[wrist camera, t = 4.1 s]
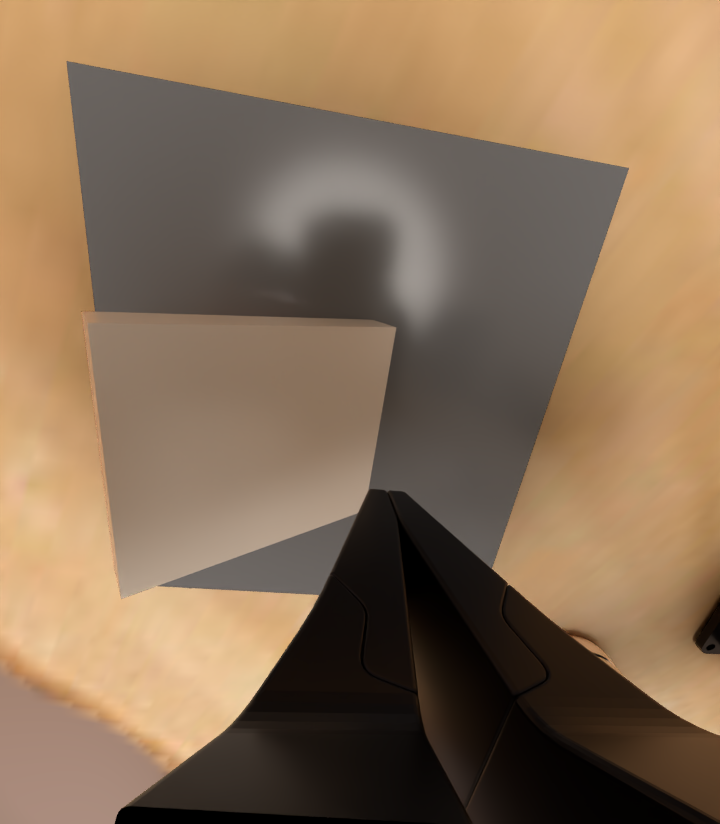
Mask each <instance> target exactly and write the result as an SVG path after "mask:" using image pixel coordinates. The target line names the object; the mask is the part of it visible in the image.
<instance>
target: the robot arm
mask: <svg viewBox="0 0 720 824" xmlns="http://www.w3.org/2000/svg"><path fill="white" fill-rule="evenodd" d="M507 585H508V584H507V582H506V581H505V580H504V579H503V578H501V577H500V576H499V575H498V574H497V573H496V572H495V571H494V570H492V569H491V568H490V567H489V566H488V565H487V564H486V563H485V562H483V561H482V560H481V559H480V558H479V557H478V556H477V555H475V554H474V553H473V552H472V551H471V550H470V549H469V548H468V547H466V546H465V545H464V544H463V543H462V542H461V541H460V540H459V539H457V538H456V537H455V536H454V535H453V534H452V533H451V532H450V531H448V530H447V529H446V528H445V527H444V526H443V525H442V524H441V523H439V522H438V521H437V520H436V519H435V518H434V517H433V516H431V515H430V514H429V513H428V512H427V511H426V510H425V509H424V508H422V507H421V506H420V505H419V504H418V503H417V502H416V501H415V500H413V499H412V498H411V497H410V496H409V495H408V494H407V493H405V492H403V491H393V490H389V491H386V490H381V489H369V490H368V492H367V494H366V496H365V499H364V501H363V503H362V505H361V507H360V509H359V512H358V514H357V516H356V518H355V520H354V522H353V525H352V527H351V529H350V531H349V533H348V536H347V538H346V540H345V542H344V544H343V546H342V549H341V551H340V553H339V555H338V557H337V559H336V562H335V564H334V566H333V568H332V570H331V572H330V575H329V576H328V578H327V581H326V583H325V585H324V587H323V589H322V591H321V593H320V595H319V597H318V599H317V601H316V603H315V605H314V607H313V609H312V610H311V612H310V613H309V615H308V617H307V618H306V620H305V621H304V623H303V625H302V626H301V628H300V630H299V631H298V633H297V634H296V636H295V637H294V638H293V640H292V641H291V643H290V644H289V646H288V647H287V649H286V650H285V652H284V653H283V655H282V656H281V658H280V659H279V661H278V662H277V663H276V665H275V666H274V668H273V669H272V671H271V672H270V674H269V675H268V677H267V678H266V680H265V681H264V683H263V684H262V686H261V687H260V689H259V690H258V691H257V693H256V694H255V696H254V697H253V698H252V700H251V701H250V703H249V704H248V705H247V706H246V708H245V709H244V710H243V712H242V713H241V714H240V715H239V716H238V718H237V719H236V720H235V721H234V722H233V723H232V724H231V725H230V726H229V727H228V728H227V729H226V730H225V731H224V732H223V733H221V734H220V735H219V736H218V737H216V738H215V739H214V740H212V741H211V742H210V743H208V744H207V745H206V746H204V747H203V748H202V749H200V750H199V751H198V752H196V753H195V754H194V755H192V756H191V757H190V758H188V759H187V760H186V761H184V762H183V763H182V764H180V765H179V766H178V767H176V768H175V769H174V770H172V771H171V772H170V773H168V774H167V775H166V776H164V777H163V778H162V779H160V780H159V781H158V782H156V783H155V784H154V785H152V786H151V787H150V788H148V789H147V790H146V791H144V792H143V793H142V794H140V795H139V796H138V797H137V798H135V799H134V800H133V801H131V802H130V803H129V804H127V805H126V806H125V807H123V808H122V809H121V810H120V811H119V812H118V814H117V817H116V821H115V824H720V736H719V735H716V734H714V733H711V732H709V731H707V730H704V729H702V728H700V727H697V726H695V725H694V724H692V723H690V722H688V721H686V720H684V719H682V718H680V717H679V716H677V715H675V714H674V713H672V712H671V711H669V710H667V709H666V708H664V707H663V706H662V705H660V704H659V703H658V702H656V701H655V700H653V699H652V698H651V697H649V696H648V695H647V694H645V693H644V692H643V691H642V690H640V689H639V688H638V687H636V686H635V685H634V684H632V683H631V682H630V681H629V680H627V679H626V678H625V677H623V676H622V675H621V674H619V673H618V672H617V671H616V670H614V669H613V668H612V667H610V666H609V665H608V664H606V663H605V662H604V661H603V660H601V659H600V658H599V657H597V656H596V655H595V654H593V653H592V652H591V651H590V650H588V649H587V648H586V647H584V646H583V645H582V644H580V643H579V642H578V641H577V640H575V639H574V638H573V637H572V636H570V635H569V634H568V633H566V632H565V631H564V630H563V629H561V628H560V627H559V626H558V625H556V624H555V623H554V622H553V621H551V620H550V619H549V618H548V617H546V616H545V615H544V614H543V613H542V612H541V611H539V610H538V609H537V608H536V607H535V606H534V605H532V604H531V603H530V602H529V601H528V600H527V599H525V598H524V597H523V596H522V595H521V594H520V593H519V592H517V591H516V590H515V589H514V588H513V587H512V586H510V585H508V586H507ZM695 643H696V645H697V647H698V648H699V649H700V650H701V651H702V652H703V653H707V654H720V605H719V606H718V608H717V609H716V611H715V612H714V614H713V616H712V617H711V619H710V620H709V622H708V623H707V625H706V626H705V628H704V629H703V631H702V632H701V634H700V635H699V637H698V638H697V640H696V642H695Z"/></svg>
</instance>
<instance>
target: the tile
mask: <svg viewBox="0 0 720 824" xmlns="http://www.w3.org/2000/svg"><path fill="white" fill-rule="evenodd" d="M81 312H82V320H83V328H84V336H85V343H86V351H87V359H88V367H89V375H90V383H91V391H92V398H93V406H94V414H95V422H96V430H97V438H98V446H99V453H100V461H101V469H102V477H103V485H104V493H105V500H106V508H107V516H108V524H109V532H110V540H111V548H112V555H113V563H114V570H115V574H116V578H117V583H118V587H119V592H120V596H121V599H123V598H126V597H128V596H131V595H134V594H137V593H139V592H142V591H145V590H148V589H150V588H153V587H156V586H159V585H161V584H164V583H167V582H170V581H172V580H175V579H178V578H181V577H183V576H186V575H189V574H192V573H194V572H197V571H200V570H203V569H205V568H208V567H211V566H214V565H216V564H219V563H222V562H225V561H228V560H230V559H233V558H236V557H239V556H241V555H244V554H247V553H250V552H252V551H255V550H258V549H261V548H263V547H266V546H269V545H272V544H274V543H277V542H280V541H283V540H285V539H288V538H291V537H294V536H296V535H299V534H302V533H305V532H307V531H310V530H313V529H316V528H318V527H321V526H324V525H327V524H329V523H332V522H335V521H338V520H340V519H343V518H346V517H349V516H352V515H354V514H357V513H358V512H359V509H360V507H361V505H362V503H363V501H364V499H365V496H366V494H367V492H368V489H369V484H370V478H371V472H372V466H373V460H374V455H375V449H376V443H377V437H378V431H379V425H380V420H381V414H382V408H383V402H384V396H385V391H386V385H387V379H388V373H389V367H390V362H391V356H392V350H393V344H394V338H395V333H396V327H394V326H391V325H387V324H384V323H381V322H378V321H375V320H365V319H331V318H297V317H264V316H230V315H196V314H162V313H128V312H95V311H81Z"/></svg>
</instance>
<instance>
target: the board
mask: <svg viewBox="0 0 720 824" xmlns="http://www.w3.org/2000/svg"><path fill="white" fill-rule="evenodd" d="M67 69H68V78H69V87H70V95H71V104H72V113H73V122H74V130H75V139H76V148H77V157H78V165H79V174H80V183H81V192H82V200H83V209H84V218H85V227H86V235H87V244H88V253H89V262H90V270H91V279H92V288H93V297H94V305H95V312H128V313H162V314H196V315H230V316H264V317H297V318H331V319H365V320H375V321H378V322H381V323H384V324H387V325H391V326H394V327H396V333H395V338H394V344H393V350H392V356H391V362H390V367H389V373H388V379H387V385H386V391H385V396H384V402H383V408H382V414H381V420H380V425H379V431H378V437H377V443H376V449H375V455H374V460H373V466H372V472H371V478H370V484H369V489H381V490H386V491H389V490H393V491H403V492H405V493H407V494H408V495H409V496H410V497H411V498H412V499H413V500H415V501H416V502H417V503H418V504H419V505H420V506H421V507H422V508H424V509H425V510H426V511H427V512H428V513H429V514H430V515H431V516H433V517H434V518H435V519H436V520H437V521H438V522H439V523H441V524H442V525H443V526H444V527H445V528H446V529H447V530H448V531H450V532H451V533H452V534H453V535H454V536H455V537H456V538H457V539H459V540H460V541H461V542H462V543H463V544H464V545H465V546H466V547H468V548H469V549H470V550H471V551H472V552H473V553H474V554H475V555H477V556H478V557H479V558H480V559H481V560H482V561H483V562H485V563H486V564H487V565H488V566H489V567H490V568H491V569H492V567H493V564H494V561H495V558H496V555H497V552H498V549H499V546H500V543H501V540H502V537H503V534H504V532H505V529H506V526H507V523H508V520H509V517H510V514H511V511H512V508H513V505H514V502H515V499H516V496H517V494H518V491H519V488H520V485H521V482H522V479H523V476H524V473H525V470H526V467H527V464H528V461H529V459H530V456H531V453H532V450H533V447H534V444H535V441H536V438H537V435H538V432H539V429H540V426H541V424H542V421H543V418H544V415H545V412H546V409H547V406H548V403H549V400H550V397H551V394H552V391H553V388H554V386H555V383H556V380H557V377H558V374H559V371H560V368H561V365H562V362H563V359H564V356H565V353H566V351H567V348H568V345H569V342H570V339H571V336H572V333H573V330H574V327H575V324H576V321H577V318H578V315H579V313H580V310H581V307H582V304H583V301H584V298H585V295H586V292H587V289H588V286H589V283H590V280H591V278H592V275H593V272H594V269H595V266H596V263H597V260H598V257H599V254H600V251H601V248H602V245H603V243H604V240H605V237H606V234H607V231H608V228H609V225H610V222H611V219H612V216H613V213H614V210H615V207H616V205H617V202H618V199H619V196H620V193H621V190H622V187H623V184H624V181H625V178H626V175H627V172H628V170H629V168H626V167H620V166H615V165H610V164H605V163H599V162H594V161H589V160H584V159H578V158H573V157H568V156H563V155H557V154H552V153H547V152H541V151H536V150H531V149H526V148H520V147H515V146H510V145H505V144H499V143H494V142H489V141H484V140H478V139H473V138H468V137H463V136H457V135H452V134H447V133H442V132H436V131H431V130H426V129H421V128H415V127H410V126H405V125H399V124H394V123H389V122H384V121H378V120H373V119H368V118H363V117H357V116H352V115H347V114H342V113H336V112H331V111H326V110H321V109H315V108H310V107H305V106H300V105H294V104H289V103H284V102H278V101H273V100H268V99H263V98H257V97H252V96H247V95H242V94H236V93H231V92H226V91H221V90H215V89H210V88H205V87H200V86H194V85H189V84H184V83H179V82H173V81H168V80H163V79H157V78H152V77H147V76H142V75H136V74H131V73H126V72H121V71H115V70H110V69H105V68H100V67H94V66H89V65H84V64H79V63H73V62H68V61H67ZM369 489H368V490H369ZM357 514H358V513H357ZM357 514H354V515H352V516H349V517H346V518H343V519H340V520H338V521H335V522H332V523H329V524H327V525H324V526H321V527H318V528H316V529H313V530H310V531H307V532H305V533H302V534H299V535H296V536H294V537H291V538H288V539H285V540H283V541H280V542H277V543H274V544H272V545H269V546H266V547H263V548H261V549H258V550H255V551H252V552H250V553H247V554H244V555H241V556H239V557H236V558H233V559H230V560H228V561H225V562H222V563H219V564H216V565H214V566H211V567H208V568H205V569H203V570H200V571H197V572H194V573H192V574H189V575H186V576H183V577H181V578H178V579H175V580H172V581H170V582H167V583H164V584H161V585H159V586H165V587H183V588H202V589H221V590H239V591H258V592H276V593H295V594H313V595H320V593H321V591H322V589H323V587H324V585H325V583H326V581H327V578H328V576H329V575H330V572H331V570H332V568H333V566H334V564H335V562H336V559H337V557H338V555H339V553H340V551H341V549H342V546H343V544H344V542H345V540H346V538H347V536H348V533H349V531H350V529H351V527H352V525H353V522H354V520H355V518H356V516H357Z"/></svg>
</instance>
